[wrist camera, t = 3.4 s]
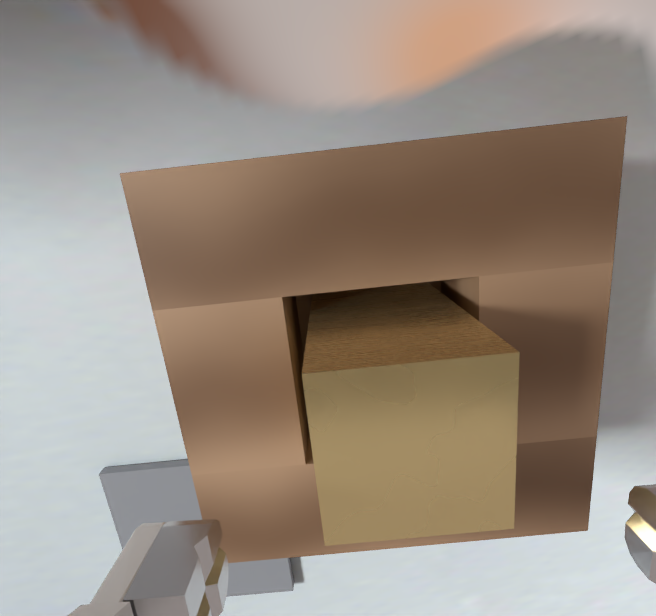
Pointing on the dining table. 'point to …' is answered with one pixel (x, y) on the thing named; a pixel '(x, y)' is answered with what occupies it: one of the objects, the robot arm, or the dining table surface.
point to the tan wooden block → (408, 416)
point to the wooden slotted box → (377, 271)
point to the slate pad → (180, 517)
